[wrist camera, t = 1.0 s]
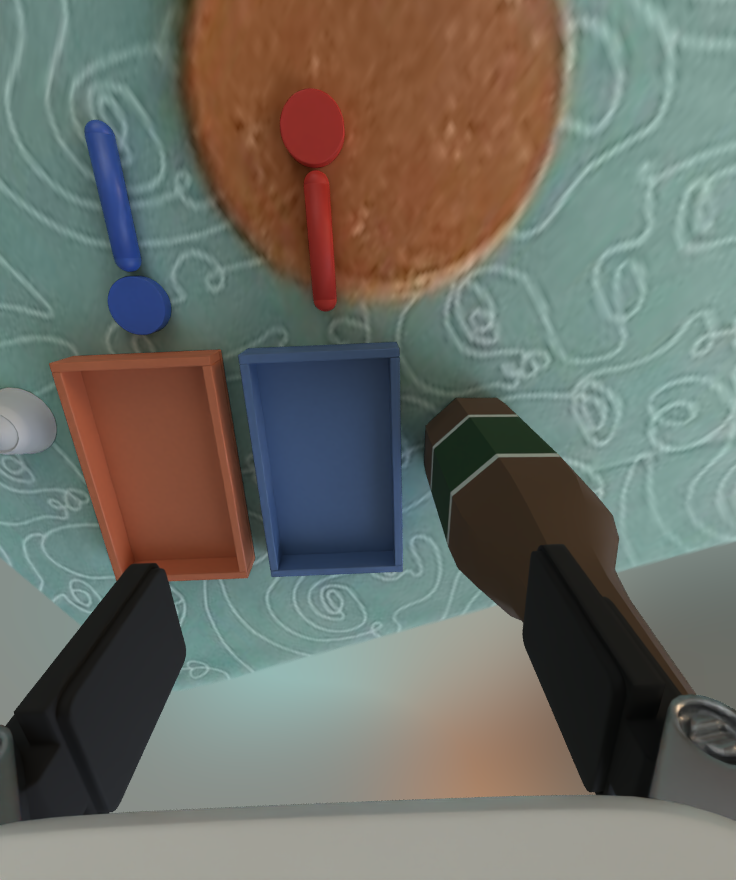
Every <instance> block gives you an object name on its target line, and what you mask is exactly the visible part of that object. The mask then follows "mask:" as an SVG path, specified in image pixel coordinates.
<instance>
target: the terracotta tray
mask: <svg viewBox="0 0 736 880" xmlns="http://www.w3.org/2000/svg"><path fill="white" fill-rule="evenodd" d="M49 365H50V369H51V372H53V373H52V375H53V378H54V381H55V385H56V388H57V391H58V394H59V397H60V401H61V404H62V407H63V410H64V414H65V417H66V420H67V423H68V426H69V430H70V433H71V436H72V439H73V442H74V446H75V449H76V452H77V455H78V459H79V462H80V465H81V468H82V471H83V475H84V478H85V481H86V484H87V487H88V491H89V494H90V497H91V500H92V504H93V507H94V510H95V513H96V516H97V520H98V523H99V526H100V529H101V532H102V536H103V539H104V542H105V545H106V549H107V552H108V555H109V558H110V561H111V565H112V568H113V571H114V574H115V577H116V581H117V580H118V579H119V578H120V576H121V575H122V574H123V573H124V571H125V570H126V569H127V568H128V567H129V566H130V565H131V564H138V563H157V565H158V566H159V568H163V569H164V570H165V571H166V574H167V578H168V581H187V580H211V579H236V578H248V576H249V574H250V571H251V568H252V566H253V563H254V560H255V554H254V548H253V542H252V536H251V529H250V523H249V517H248V511H247V505H246V499H245V493H244V487H243V481H242V475H241V469H240V462H239V456H238V450H237V444H236V438H235V432H234V426H233V420H232V414H231V408H230V401H229V395H228V389H227V383H226V377H225V371H224V365H223V359H222V353H221V350H199V351H176V352H154V353H131V354H108V355H85V356H72V357H68V358H65V359H62V360H58V361H55V362H52V363H49Z"/></svg>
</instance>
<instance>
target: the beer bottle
mask: <svg viewBox="0 0 736 880" xmlns="http://www.w3.org/2000/svg"><path fill="white" fill-rule="evenodd" d="M424 465H425V471H426V475H427V479H428V482H429V485H430V488H431V492H432V495H433V498H434V501H435V505H436V508H437V511H438V515H439V518H440V521H441V524H442V528H443V531H444V534H445V538H446V541H447V544H448V547H449V549H450V552H451V554H452V556H453V558H454V561H455V563H456V565H457V567H458V569H459V570H460V571H461V572H462V573H463V574H464V575H465V576H467V577H468V578H469V579H470V580H471V581H472V582H473V583H474V584H475V585H476V586H477V587H478V588H479V589H480V590H481V591H483V592H484V593H485V594H486V595H487V596H488V597H489V598H491V599H492V600H493V601H494V602H495V603H496V604H497V605H499V606H500V607H501V608H502V609H503V610H504V611H505V612H507V613H508V614H509V615H510V616H512V617H514V618H516V619H519V620H521V621H522V622H523V623H524V613H525V604H526V594H527V585H528V575H529V566H530V557H531V553H532V551H537V549H538V547H539V546H540V545H549V544H564V545H565V546H566V547H567V549H568V550H569V551H570V553H571V554H572V555H573V557H574V558H575V560H576V561H577V562H578V564H579V565H580V566H581V568H582V569H583V571H584V572H585V573H586V575H587V576H588V577H589V579H590V580H591V582H592V583H593V584H594V586H595V587H596V588H597V590H598V591H599V593H600V594H601V595H602V597H604V596H605V597H607V598H609V599H610V600H611V601H612V602H613V603H614V604H615V606H616V607H617V608H618V610H619V611H620V612H621V614H622V615H623V616H624V618H625V619H626V620H627V622H628V623H629V624H630V626H631V627H632V628H633V630H634V631H635V632H636V634H637V635H638V636H639V638H640V639H641V640H642V642H643V643H644V644H645V646H646V647H647V648H648V650H649V651H650V652H651V654H652V655H653V656H654V658H655V659H656V660H657V662H658V663H659V664H660V666H661V667H662V668H663V670H664V671H665V672H666V674H667V675H668V676H669V678H670V679H671V680H672V682H673V683H674V684H675V686H676V687H677V688H678V690H679V691H680V692H681V694H682V695H688V694H694V695H696V693H695V692H694V690H693V689H692V688H691V686H690V685H689V683H688V682H687V680H686V679H685V678H684V676H683V675H682V674H681V672H680V670H679V669H678V668H677V666H676V665H675V663H674V662H673V660H672V659H671V658H670V656H669V655H668V653H667V652H666V650H665V649H664V647H663V646H662V645H661V643H660V642H659V640H658V639H657V638H656V636H655V635H654V633H653V632H652V630H651V629H650V627H649V626H648V625H647V623H646V622H645V620H644V619H643V617H642V616H641V615H640V613H639V612H638V610H637V609H636V608H635V606H634V605H633V603H632V602H631V600H630V599H629V597H628V595H627V593H626V591H625V589H624V587H623V585H622V583H621V581H620V579H619V577H618V575H617V573H616V571H615V564H616V557H617V550H618V543H619V536H618V533H617V529H616V526H615V522H614V518H613V515H612V514H611V513H610V511H609V510H608V509H607V508H606V507H605V505H604V504H603V503H602V502H601V500H600V499H599V498H598V497H597V496H596V494H595V493H594V492H593V491H592V490H591V489H590V488H589V487H588V486H587V485H586V484H585V483H584V481H583V480H582V479H581V478H580V477H579V476H578V475H577V474H576V473H575V472H574V471H573V470H572V468H571V467H570V466H569V465H568V464H567V463H566V462H565V461H564V460H563V459H562V458H561V457H560V456H559V455H558V454H557V453H556V452H555V451H554V450H553V449H552V448H551V447H550V446H549V445H548V444H547V443H546V442H545V441H544V440H543V439H542V438H541V437H539V436H538V435H537V434H536V433H535V432H534V431H533V430H532V429H531V428H530V427H529V426H528V425H527V424H526V423H525V422H524V421H523V420H522V419H521V418H520V417H519V416H517V415H516V414H515V413H514V412H513V411H512V410H511V409H510V408H509V407H508V406H507V405H506V404H505V403H503V402H502V401H501V400H499V399H498V398H455V399H454V400H453V401H452V402H451V403H450V404H449V405H448V406H447V407H446V408H444V409H443V410H442V411H441V412H440V413H439V414H438V415H437V416H436V417H435V418H433V419H432V420H431V421H430V422H429V423H428V424H427V425H426V429H425V450H424Z"/></svg>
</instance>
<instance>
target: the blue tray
mask: <svg viewBox="0 0 736 880" xmlns="http://www.w3.org/2000/svg"><path fill="white" fill-rule="evenodd" d="M399 356H400V350H399V347H398V344H397V342H382V343H359V344H336V345H313V346H290V347H268V348H248V349H246V350H245V351H244V352H242V353H241V354H239V355H238V358H239V363H240V371H241V378H242V385H243V391H244V398H245V405H246V411H247V418H248V425H249V431H250V438H251V444H252V451H253V458H254V464H255V471H256V478H257V484H258V491H259V498H260V504H261V511H262V518H263V524H264V531H265V537H266V544H267V551H268V557H269V564H270V570H271V576H272V577H283V576H307V575H332V574H357V573H381V572H402V571H403V545H402V480H401V414H400V358H399Z"/></svg>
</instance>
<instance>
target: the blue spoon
mask: <svg viewBox="0 0 736 880" xmlns="http://www.w3.org/2000/svg"><path fill="white" fill-rule="evenodd" d="M84 132H85V138H86V142H87V146H88V150H89V155H90V159H91V163H92V167H93V172H94V176H95V180H96V184H97V189H98V193H99V197H100V201H101V206H102V210H103V214H104V218H105V223H106V227H107V231H108V235H109V240H110V244H111V248H112V252H113V257H114V260H115V263H116V264H117V266H118V267H119V268H120V269H122V270H124V271H127V272H133V271H136V270H137V269H138V268H139V267H140V265H141V256H140V251H139V246H138V242H137V237H136V232H135V228H134V223H133V218H132V214H131V209H130V204H129V200H128V195H127V190H126V186H125V181H124V176H123V172H122V167H121V162H120V158H119V153H118V148H117V144H116V139H115V135H114V133H113V131H112V129H111V128H110V127H109V126H108V125H107V124H106V123H104V122H102V121H99V120H91V121H89V122H88V123H87V124H86V126H85V131H84ZM108 306H109V310H110V313H111V315H112V317H113V318H114V320H115V321H116V322H117V323H118V324H119V325H120V326H121V327H122V328H123V329H125V330H126V331H128V332H131V333H133V334H137V335H147V334H151V333H154V332H157V331H159V330H161V329H162V328H164V327H165V326H166V325H167V323H168V321H169V319H170V316H171V303H170V300H169V297H168V295H167V293H166V292H165V290H164V289H163V288H162V287H161V286H160V285H159V284H158V283H157V282H156V281H154V280H152V279H150V278H147V277H144V276H127V277H123V278H121V279H119V280H117V281H116V282H115V283H114V284H113V285H112V287H111V289H110V291H109V294H108Z"/></svg>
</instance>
